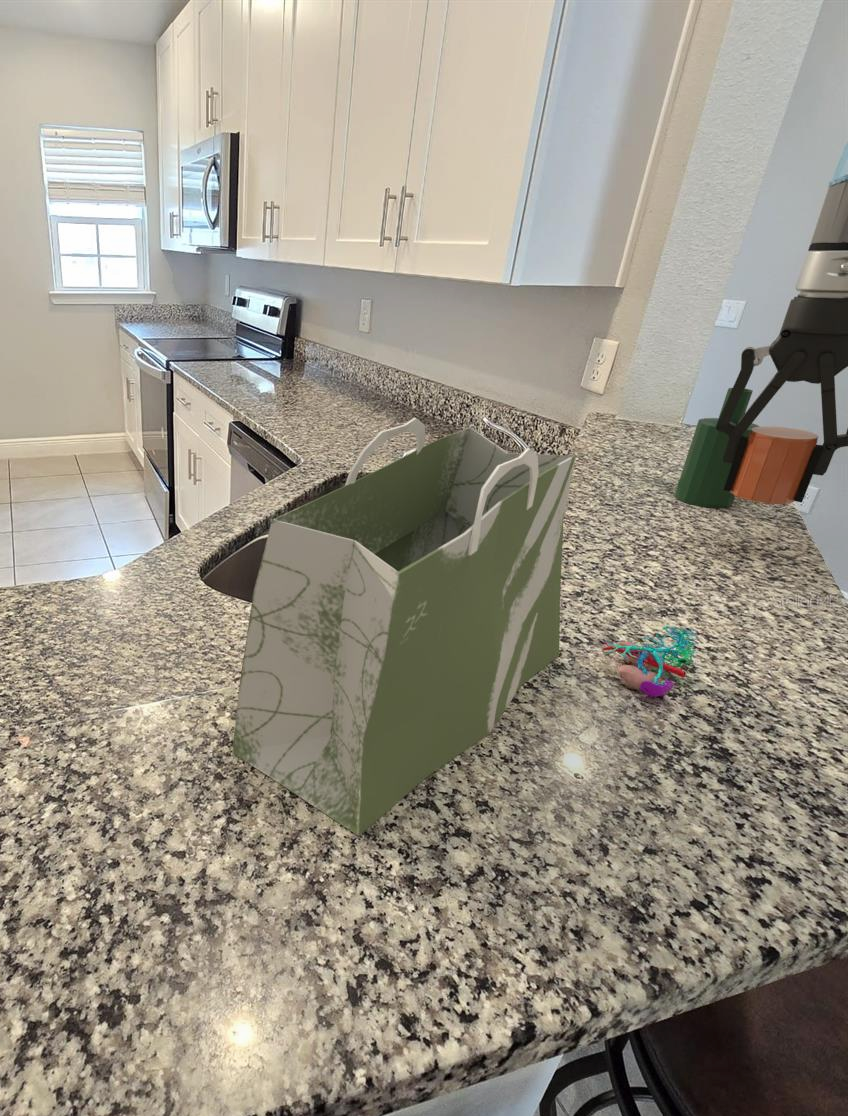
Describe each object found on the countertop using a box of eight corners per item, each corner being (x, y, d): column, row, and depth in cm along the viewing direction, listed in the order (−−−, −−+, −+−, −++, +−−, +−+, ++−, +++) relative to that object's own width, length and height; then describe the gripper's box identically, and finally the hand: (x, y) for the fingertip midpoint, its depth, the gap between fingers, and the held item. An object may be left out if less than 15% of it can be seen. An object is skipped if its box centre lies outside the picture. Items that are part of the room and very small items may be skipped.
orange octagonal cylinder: (794, 493, 85) (818, 431, 82) (793, 507, 81) (819, 441, 77) (732, 484, 89) (753, 424, 85) (727, 497, 84) (749, 433, 81)
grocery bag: (375, 847, 43) (421, 508, 32) (225, 748, 52) (223, 454, 41) (565, 658, 64) (631, 412, 53) (436, 609, 72) (470, 389, 62)
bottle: (733, 498, 106) (773, 389, 99) (729, 511, 101) (771, 396, 93) (678, 488, 111) (712, 383, 103) (671, 501, 105) (706, 390, 97)
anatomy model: (594, 635, 59) (684, 655, 54) (621, 605, 64) (704, 620, 60) (588, 686, 61) (674, 709, 56) (614, 653, 66) (694, 671, 62)
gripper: (727, 294, 77) (669, 486, 87) (960, 299, 66) (863, 517, 77) (732, 291, 82) (677, 473, 93) (949, 296, 72) (860, 500, 82)
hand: (762, 493), depth 85 cm, fingers closed on orange octagonal cylinder, 7 cm apart
